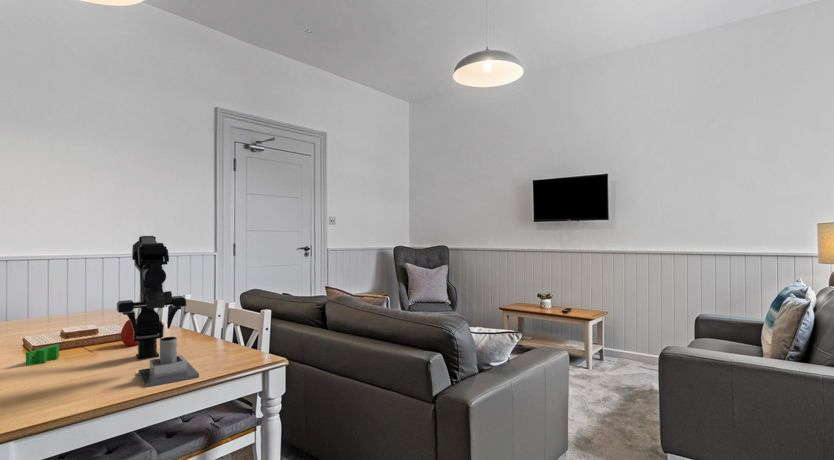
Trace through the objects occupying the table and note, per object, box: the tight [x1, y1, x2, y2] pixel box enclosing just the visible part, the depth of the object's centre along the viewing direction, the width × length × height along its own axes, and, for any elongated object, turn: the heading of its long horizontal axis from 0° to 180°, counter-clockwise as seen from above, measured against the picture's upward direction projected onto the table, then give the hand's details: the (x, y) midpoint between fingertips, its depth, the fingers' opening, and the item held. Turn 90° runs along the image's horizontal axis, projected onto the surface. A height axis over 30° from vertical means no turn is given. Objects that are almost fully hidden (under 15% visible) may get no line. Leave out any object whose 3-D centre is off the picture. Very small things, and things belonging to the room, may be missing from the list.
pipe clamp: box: [25, 343, 60, 367], centre depth 156 cm, size 11×4×5 cm, turn 173°
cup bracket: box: [138, 354, 200, 388], centre depth 140 cm, size 16×14×4 cm
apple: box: [120, 318, 138, 347], centre depth 177 cm, size 8×8×11 cm
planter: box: [159, 336, 178, 365], centre depth 140 cm, size 4×4×10 cm
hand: (152, 330), depth 146 cm, fingers open, 9 cm apart
